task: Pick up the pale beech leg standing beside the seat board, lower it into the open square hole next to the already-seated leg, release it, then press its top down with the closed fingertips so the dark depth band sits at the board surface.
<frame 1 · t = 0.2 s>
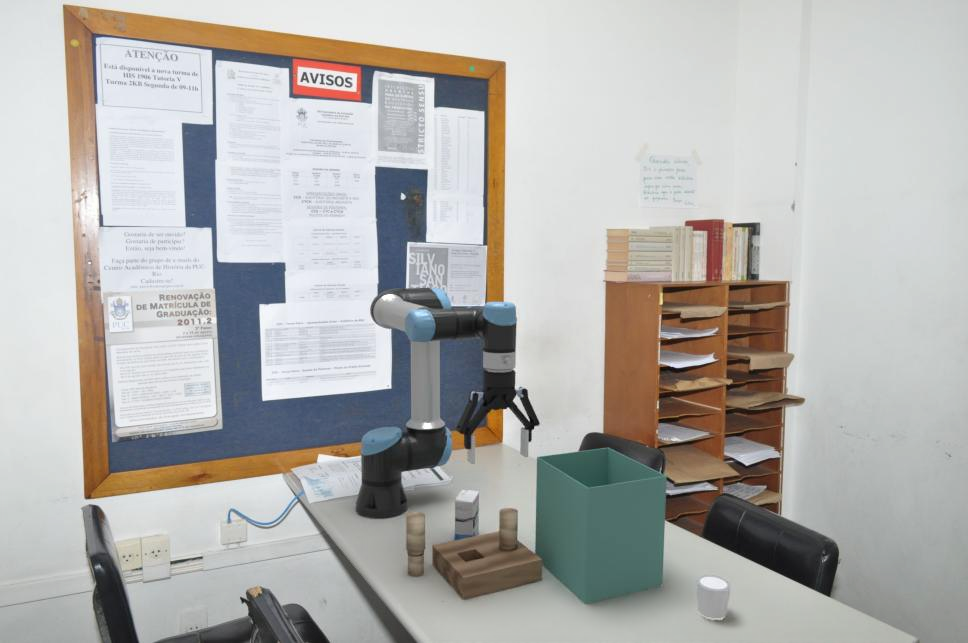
hand: (498, 459, 156), 28 cm above the table, fingers open, 13 cm apart
seat board: (485, 572, 159), on the table
box: (596, 572, 160), on the table
ink box: (466, 538, 178), on the table
beech leg: (415, 572, 158), on the table
light grey short cylinder: (711, 614, 142), on the table
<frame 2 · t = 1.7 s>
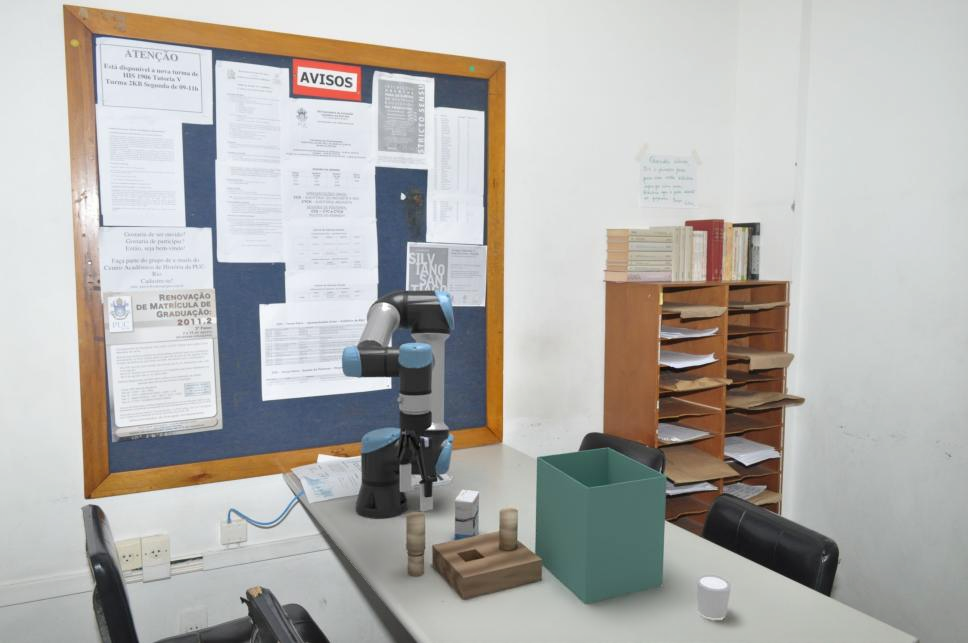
hand: (415, 500, 156), 18 cm above the table, fingers open, 13 cm apart
nothing on the table moved.
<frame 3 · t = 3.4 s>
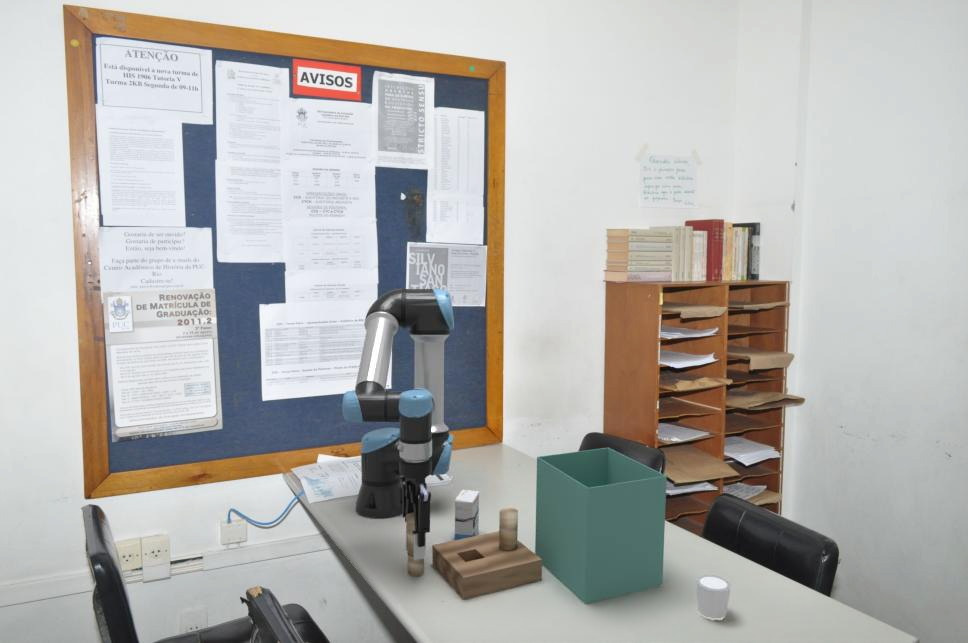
hand: (415, 553, 158), 5 cm above the table, fingers closed on beech leg, 4 cm apart
beech leg: (415, 572, 158), on the table, touching gripper
everything else where it was.
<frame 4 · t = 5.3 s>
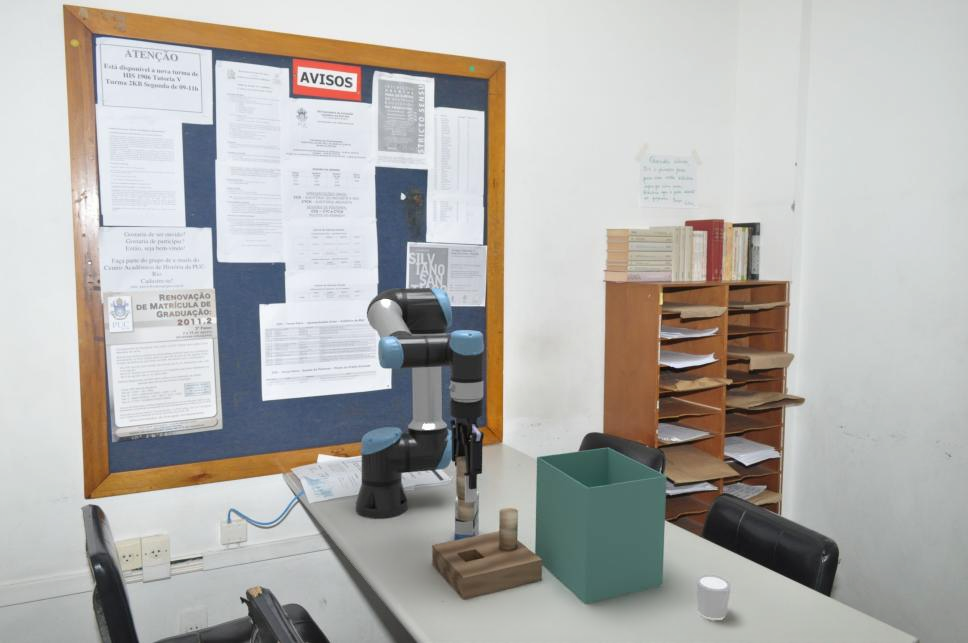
hand: (466, 497, 155), 19 cm above the table, fingers closed on beech leg, 4 cm apart
beech leg: (466, 517, 155), point 14 cm above the table, touching gripper
everything else where it was.
when the fingers open (6 cm above the table, at t = 7.5 s): beech leg drops 1 cm, resting on seat board.
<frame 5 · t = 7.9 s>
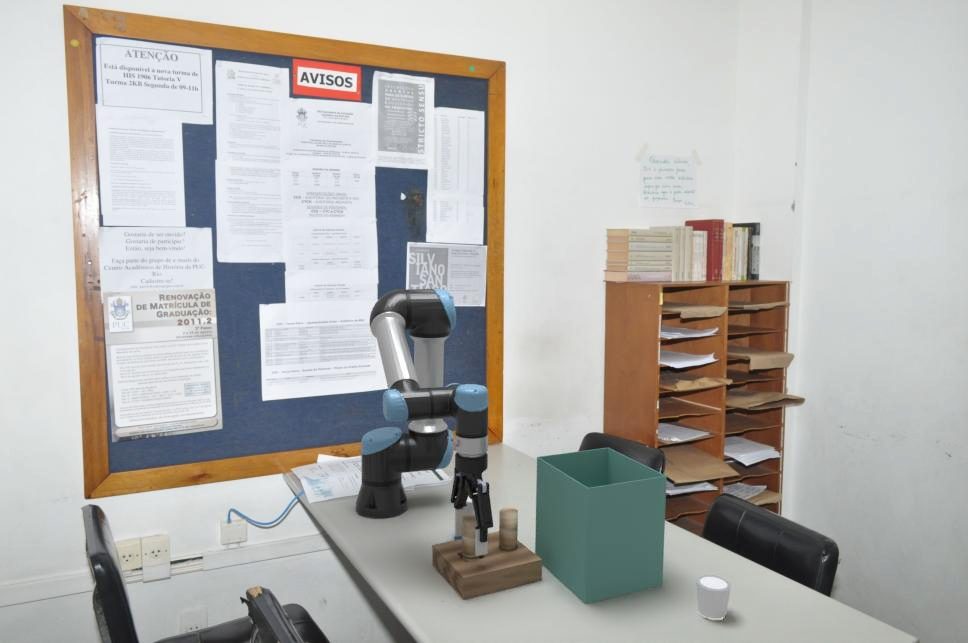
hand: (470, 544, 156), 8 cm above the table, fingers open, 10 cm apart
beech leg: (470, 574, 157), resting on seat board
everything else where it was.
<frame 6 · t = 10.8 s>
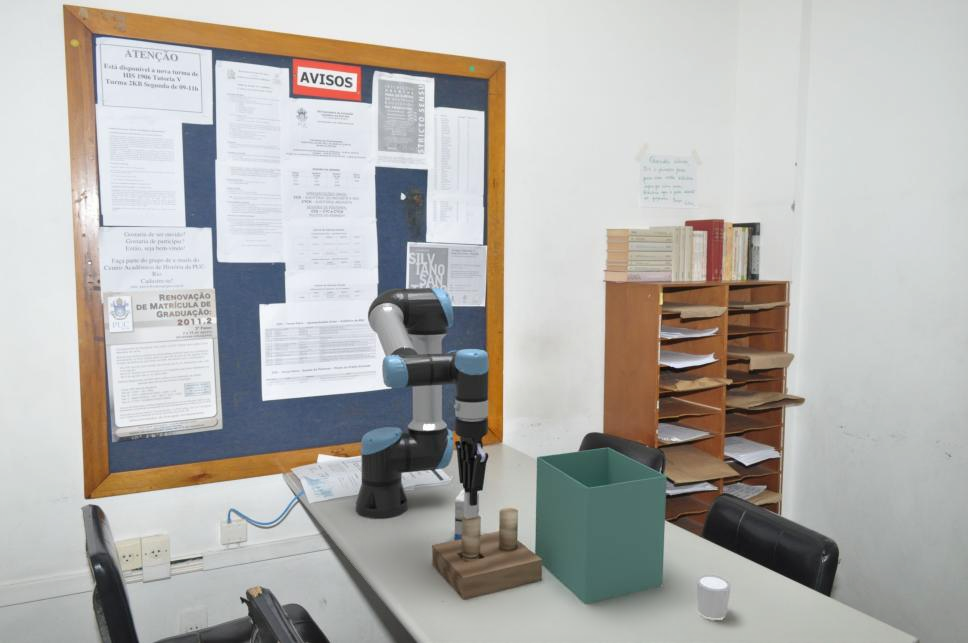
hand: (470, 516, 155), 14 cm above the table, fingers closed
beech leg: (470, 574, 157), resting on seat board, touching gripper
everything else where it was.
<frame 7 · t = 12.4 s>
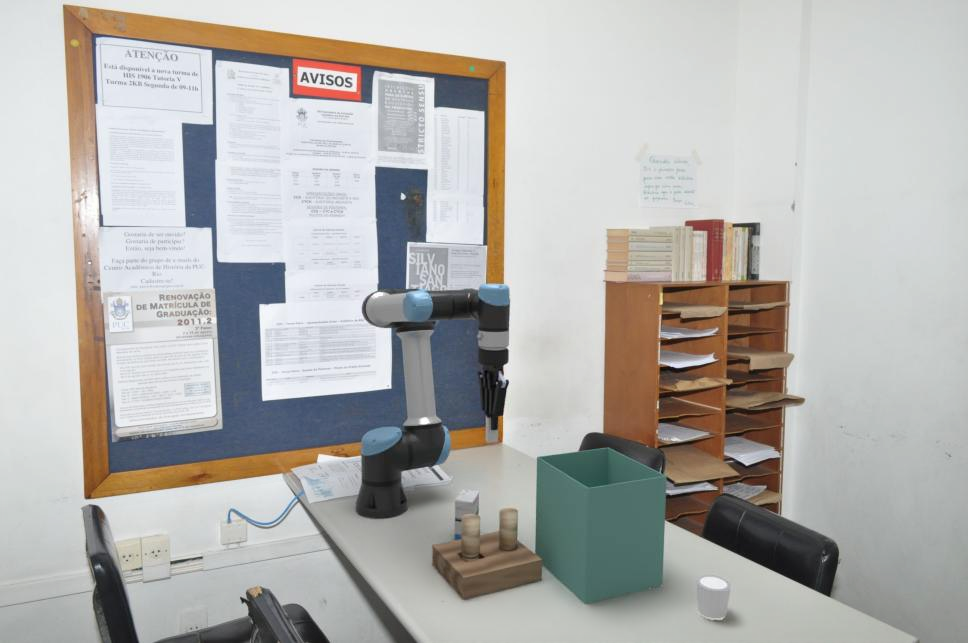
hand: (491, 441, 166), 29 cm above the table, fingers closed
beech leg: (470, 574, 157), resting on seat board
everything else where it was.
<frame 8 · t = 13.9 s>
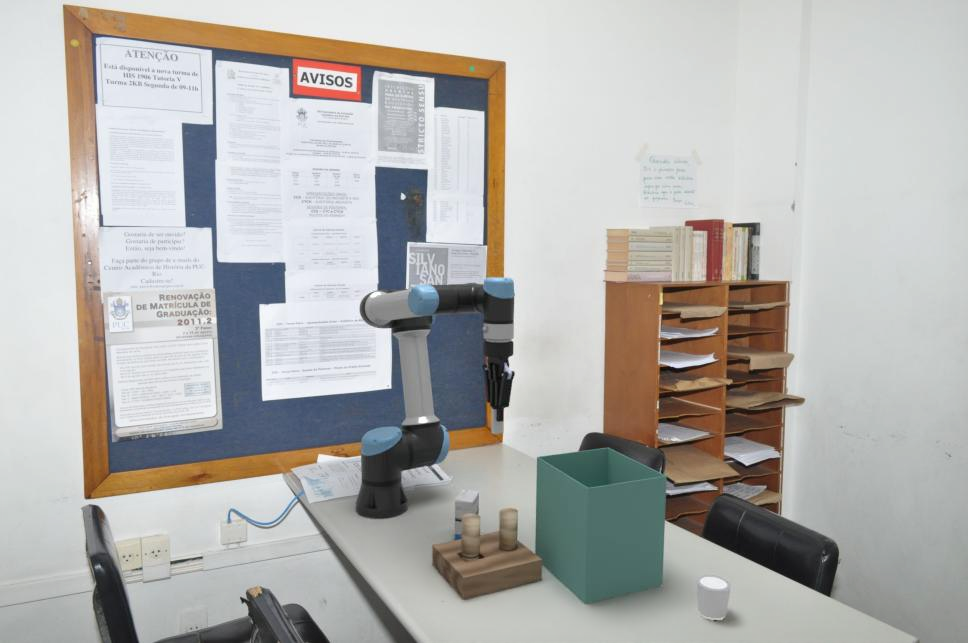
hand: (497, 432, 168), 30 cm above the table, fingers closed
nothing on the table moved.
at the end: beech leg 0.0 cm from the target spot on the seat board, point 0.2 cm above the seat board's base; beech leg tilted 1°; the gripper is holding nothing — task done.
